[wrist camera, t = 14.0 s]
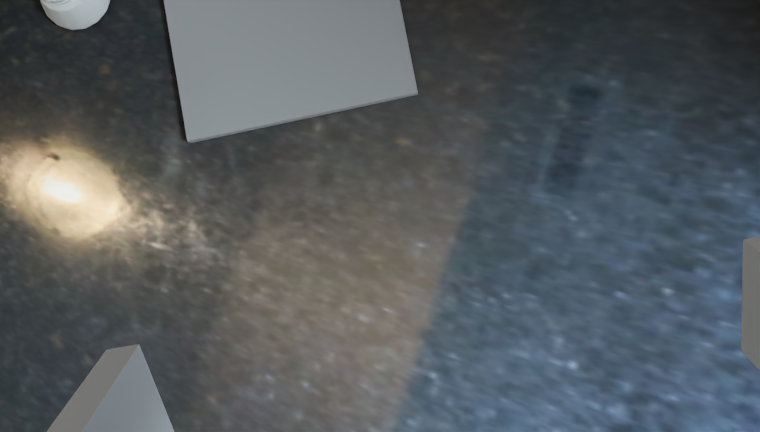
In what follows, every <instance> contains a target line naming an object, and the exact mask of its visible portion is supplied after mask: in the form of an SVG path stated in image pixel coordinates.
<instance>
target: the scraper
mask: <svg viewBox="0 0 760 432" xmlns="http://www.w3.org/2000/svg"><path fill="white" fill-rule="evenodd" d="M164 6H165V12H166V18H167V24H168V30H169V35H170V41H171V47H172V53H173V59H174V65H175V71H176V77H177V83H178V89H179V95H180V101H181V107H182V113H183V119H184V125H185V131H186V137H187V142H190V143H193V142H198V141H202V140H207V139H212V138H216V137H221V136H226V135H231V134H235V133H240V132H245V131H249V130H254V129H259V128H264V127H268V126H273V125H278V124H282V123H287V122H292V121H297V120H301V119H306V118H311V117H315V116H320V115H325V114H330V113H334V112H339V111H344V110H348V109H353V108H358V107H363V106H367V105H372V104H377V103H381V102H386V101H391V100H395V99H400V98H405V97H410V96H414V95H418V91H417V86H416V81H415V76H414V71H413V66H412V61H411V56H410V50H409V45H408V40H407V35H406V30H405V25H404V20H403V15H402V10H401V5H400V0H164Z"/></svg>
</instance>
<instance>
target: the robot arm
mask: <svg viewBox="0 0 760 432" xmlns="http://www.w3.org/2000/svg"><path fill="white" fill-rule="evenodd" d="M741 351H742V352H743V353H744V354H745V356H746V357H747V358H748V359H749V360H750V361H751V362H752V363H753V364H754V365H755V366H756V367H757V368H758V369H759V370H760V237H756V238H750V239H745V240H743V279H742V331H741ZM47 432H174V430H173V427H172V425H171V422H170V420H169V418H168V415H167V413H166V410H165V408H164V405H163V403H162V400H161V398H160V395H159V393H158V390H157V388H156V385H155V383H154V380H153V378H152V375H151V373H150V370H149V368H148V365H147V363H146V360H145V358H144V355H143V353H142V350H141V348H140V345H139V344H137V345H131V346H125V347H120V348H114V349H108V350H106V351H105V352H104V354H103V355H102V357H101V358H100V359H99V361H98V362H97V363H96V365H95V366H94V368H93V369H92V370H91V372H90V373H89V374H88V376H87V377H86V379H85V380H84V381H83V383H82V384H81V385H80V387H79V388H78V389H77V391H76V392H75V394H74V395H73V396H72V398H71V399H70V400H69V402H68V403H67V405H66V406H65V407H64V409H63V410H62V411H61V413H60V414H59V415H58V417H57V418H56V420H55V421H54V422H53V424H52V425H51V426H50V428H49V429H48V431H47Z"/></svg>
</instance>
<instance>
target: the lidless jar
mask: <svg viewBox="0 0 760 432" xmlns="http://www.w3.org/2000/svg"><path fill="white" fill-rule="evenodd" d="M40 2H41V4H42V7H43V9H44V11H45V13H46V15H47V16H48V17H49V18H50V19H51V20H52V21H53V22H54V23H56V24H57V25H58V26H60V27H64V28H67V29H70V30H77V29H86V28H87V27H89V26H91V25H93V24H95V23H97V22H98V21H99V20H100V18H101V17H102V16H103V15H104V14H105V12H106V11H107V9H108V6H109V3H110V0H40Z"/></svg>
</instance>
